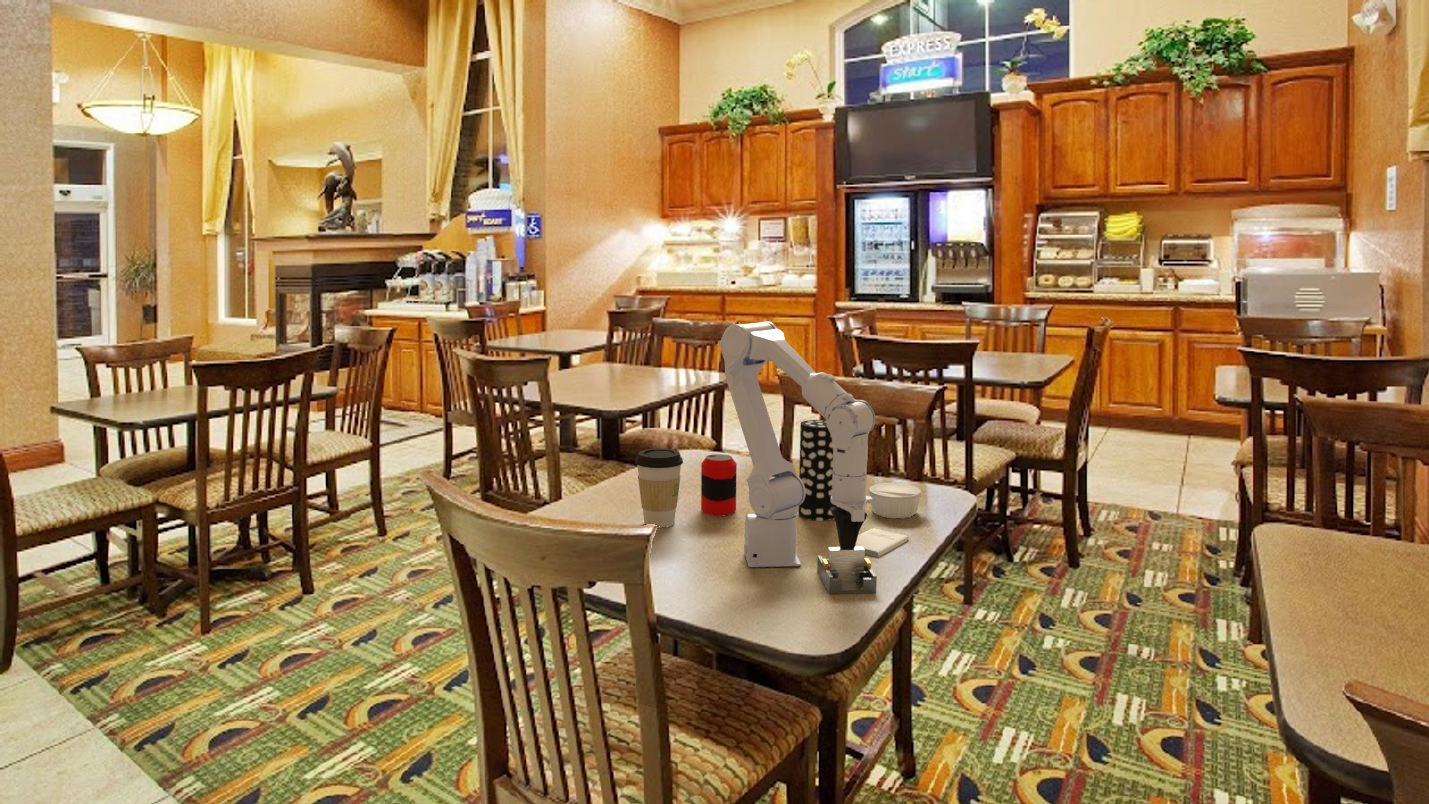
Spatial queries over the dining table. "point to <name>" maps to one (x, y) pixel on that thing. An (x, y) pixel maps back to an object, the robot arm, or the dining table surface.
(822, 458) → the spotted tube
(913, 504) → the ramekin
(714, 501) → the soda can
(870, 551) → the external hard drive
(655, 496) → the coffee cup
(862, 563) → the grey flat square block
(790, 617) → the dining table surface
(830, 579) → the rack
